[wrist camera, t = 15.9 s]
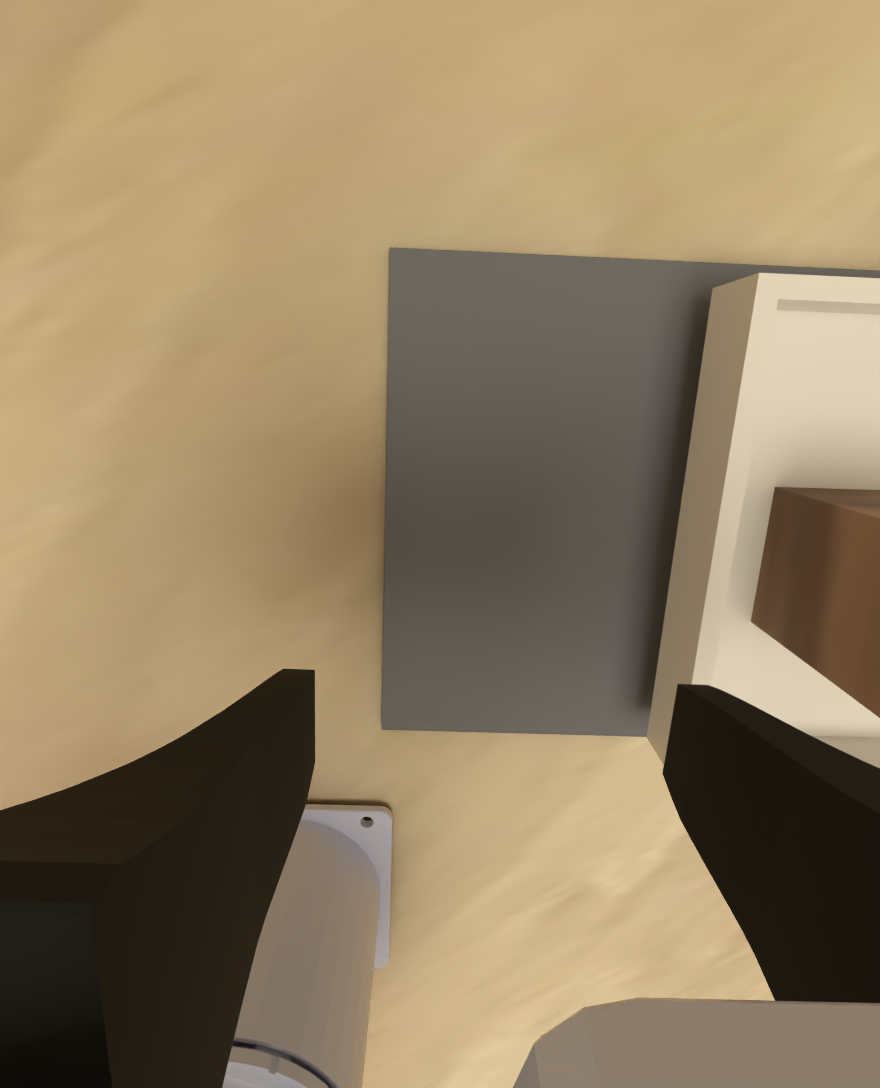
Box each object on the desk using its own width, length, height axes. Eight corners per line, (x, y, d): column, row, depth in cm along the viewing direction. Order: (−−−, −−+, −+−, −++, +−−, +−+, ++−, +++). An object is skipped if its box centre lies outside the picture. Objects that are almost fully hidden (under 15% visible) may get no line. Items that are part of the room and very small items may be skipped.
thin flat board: (382, 725, 23) (378, 749, 22) (390, 249, 19) (386, 237, 17) (948, 740, 24) (983, 765, 22) (1083, 282, 20) (1139, 273, 18)
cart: (634, 716, 23) (675, 783, 19) (692, 295, 19) (759, 272, 15) (890, 723, 23) (982, 791, 19) (999, 308, 19) (1141, 290, 15)
